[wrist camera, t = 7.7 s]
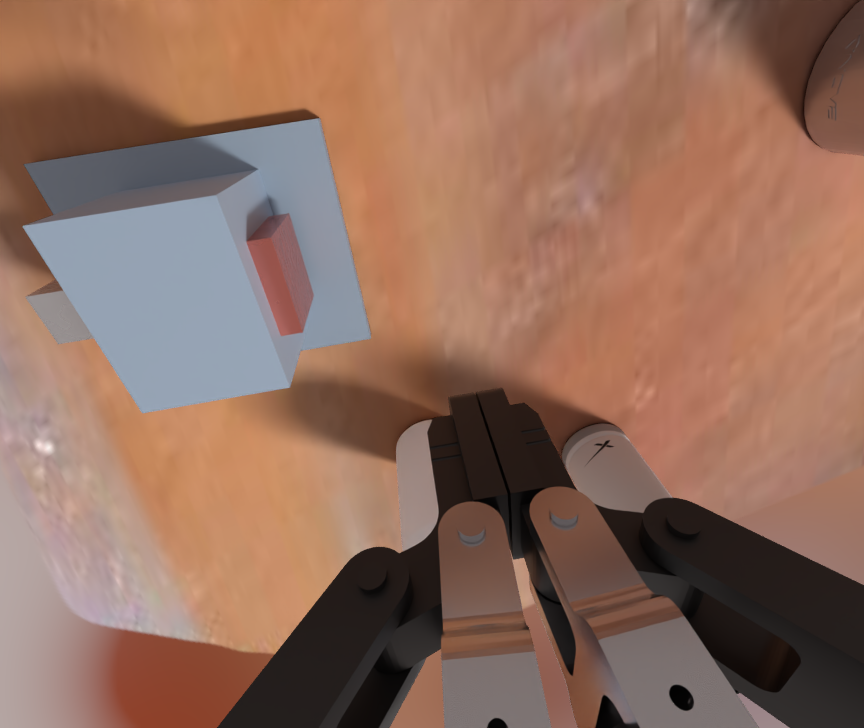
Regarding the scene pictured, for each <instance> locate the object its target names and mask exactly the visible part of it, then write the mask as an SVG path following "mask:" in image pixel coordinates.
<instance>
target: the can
mask: <svg viewBox="0 0 864 728" xmlns="http://www.w3.org/2000/svg"><path fill="white" fill-rule="evenodd" d="M431 422H432V419H430V420H425V421H421V422H418V423H416V424H414V425H413V426H411V427H409V428H408V429H407V430H406V431H404V433H403V434H402V435H401V436H400V438H399V440H398V442H397V446H396V463H397V479H398V495H399V509H400V524H401V537H402V549H403V551H405V550H407V549H409V548H411V547H413V546H415V545H417V544H418V543H420V542H421V541H423V540H424V539H425V538H426V537H427V536H428V535H429V534H430V533H431V532H432V530H433V529H434V527H435V525H436V523H437V519H438V514H439V511H438V502H437V496H436V489H435V482H434V475H433V469H432V462H431V455H430V448H429V442H428V435H427V431H428V429H429V426H430V424H431Z"/></svg>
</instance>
